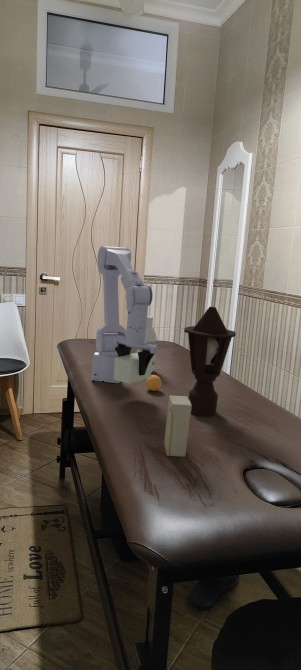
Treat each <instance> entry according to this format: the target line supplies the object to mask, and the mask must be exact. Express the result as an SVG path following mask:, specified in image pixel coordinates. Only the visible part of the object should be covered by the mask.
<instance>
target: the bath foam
mask: <svg viewBox="0 0 301 670" xmlns="http://www.w3.org/2000/svg"><path fill="white" fill-rule="evenodd" d="M153 322H154V316H148V315H147V326H146V338H145V341H146V342H147V343H149V344H152V345H155V346H157V345H158V344H157V341H158V339H157V333H156V331H155V329H154V328H153ZM141 351H142V350H139V349H136V353H138V352H141ZM155 365H156V353H155V354H154V356H153V358H152V371H151V373H152V372H154V371H155Z"/></svg>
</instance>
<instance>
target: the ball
mask: <svg viewBox="0 0 301 670" xmlns="http://www.w3.org/2000/svg"><path fill="white" fill-rule="evenodd" d="M145 386H146V388H147V389H148V390H149V391H159V389H161V386H162V379H161V378H160V376H158V375H155V374H151V377H150V378H147V379H145Z"/></svg>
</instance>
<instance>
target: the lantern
mask: <svg viewBox="0 0 301 670" xmlns="http://www.w3.org/2000/svg"><path fill="white" fill-rule="evenodd" d="M184 333H186V334H187V335H188V336H187V337H188V345H189V357H190V366H191V373H192V374H193V375H194V379H195V380H196V381H195V383H194V386H193V388H191V389H190V390H189V391H188V399H189V401H190V403H191V405H192V407H191V415H193V416H197V417H204V418H205V417H213V416H215V415H216V414H217V408H218V407H217V406H218V398H219V397H218V396H219V394H218V392H217V391H216V390H215V387H214V382H215V381H216V379H217V378H218V377H220V375H221V372H222V369H223V366H224V363H225V360H226V356H227V355H228V350H229V348H230V344H231V341H232V339H233V338H235V337H236V336H237V335H236V334H237V333H236V331H235V330H230V329H227V328H226V325H225V323H224V322H223V320H222V318H221V316H220V314H219V311H218V310H217V308H216V306H209V307H208V308H207V310H206V311H205V312H204V314H203V315H202V316H201V318H200V319H199V320H198V322H197V323H196V325H191V326H186V327H184Z"/></svg>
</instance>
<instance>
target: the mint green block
mask: <svg viewBox="0 0 301 670" xmlns="http://www.w3.org/2000/svg"><path fill="white" fill-rule="evenodd" d="M152 358H153V357H152ZM151 371H152V359H151V360H150V362H149V364H148V367H147V369H146V373H145V375H142V376H140V375H139V357H138V353H137V352H134V353H130V354H129V355H125V356H121V357H116V358H115V365H114V380H118V381H120V382H122V383H125V384H130V385H131V384H134V383H137V382H140V381H143V380H147V378H150V377H151V375H152V372H151Z"/></svg>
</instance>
